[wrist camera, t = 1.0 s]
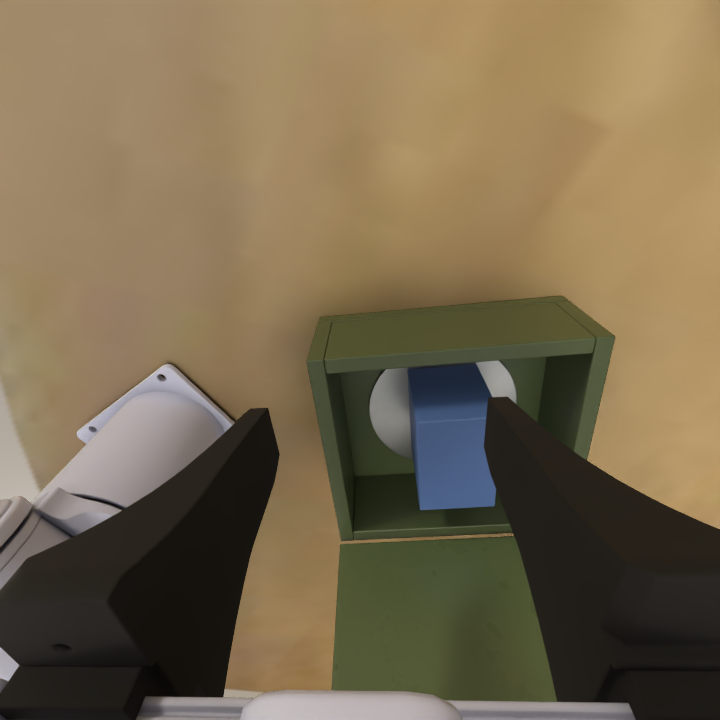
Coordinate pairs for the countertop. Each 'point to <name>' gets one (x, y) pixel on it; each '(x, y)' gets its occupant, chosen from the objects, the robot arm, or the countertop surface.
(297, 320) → the countertop surface
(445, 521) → the box
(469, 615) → the lunchbox lid
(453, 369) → the block
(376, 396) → the silver plate
